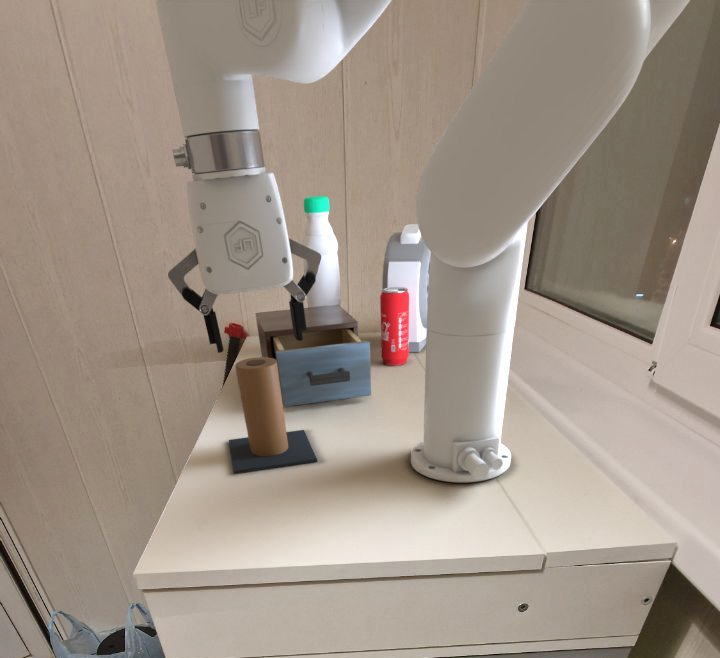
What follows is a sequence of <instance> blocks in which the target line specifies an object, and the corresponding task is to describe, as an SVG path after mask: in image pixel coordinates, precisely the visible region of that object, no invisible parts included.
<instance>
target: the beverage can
mask: <svg viewBox="0 0 720 658" xmlns="http://www.w3.org/2000/svg"><path fill="white" fill-rule="evenodd" d="M379 300H380V302H379V303H380V307H379V308H380V347H381V359H382V361H383V364H384V365H386V366H391V367H392V366H393V367H394V366H395V367H396V366H402V365H405V364H407V361H408V358H409V356H410V355H409V353H410V352H409V293H408V289H407V288H403V287H392V288H385V289H381V293H380V296H379Z"/></svg>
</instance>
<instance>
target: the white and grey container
mask: <svg viewBox="0 0 720 658" xmlns="http://www.w3.org/2000/svg"><path fill="white" fill-rule="evenodd" d="M430 255H431V251H430V250H429V249H428V247H427V246H426V244H425V242H424V241H423V238H422V236H421V233H420V231H419V227H418V223H408V224H406V225H405V226H404V227H403V229H402V231H401V232H400V231H399V232H394V233H392V234H391V235H390V237H389V239H388V241H387V245H386V248H385V252H384V257H383V258H384V260H383V267H382V282H381V283H382V286H381V288H382V289H385V288H392V287H403V288H407V289H408V293H409V353H420V352H421V351H422V350H423V349H424V348H425V347H426V332H427V304H428V284H429V269H430ZM382 289H381V290H382Z"/></svg>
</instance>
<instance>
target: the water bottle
mask: <svg viewBox="0 0 720 658" xmlns="http://www.w3.org/2000/svg"><path fill="white" fill-rule="evenodd" d="M330 209H331V207H330V199H329V197H328V196H325V195H314V196H306V197H304V199H303V210H304V214H305V216H306V219H307V223H306V226H305V229H304V235H303V236H302V240H301V244H302V245H304V246H306V247H308V248H310V249H312V250H315V251H317V252H319V253H320V254H321V256H322V260H321V263H320V266H319V270H318V273H317V276H316V281H315V283H314V285H313V286H312V288H311V289H310V291H309V292H308V294H307V295H306V302H307V308H309V307H319V306H329V305H340V306H341V307H342V305H341V304H342V303H341V302H342V291H341V273H340V263H339V261H340V260H339V256H338V251H339V242H338V240H337V237H336V235H335V233H334V230H333V227H332V226H331V223H330V222H329V215H330ZM306 266H307V262H306V260H305V259H303V274H304V273H305V270H306Z"/></svg>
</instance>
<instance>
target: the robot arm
mask: <svg viewBox="0 0 720 658" xmlns="http://www.w3.org/2000/svg"><path fill="white" fill-rule="evenodd" d="M392 1H393V0H155V4H156V10H157V17H158V20H159V25H160V30H161V35H162V39H163V44H164V49H165V54H166V58H167V63H168V68H169V72H170V77H171V81H172V87H173V91H174V96H175V100H176V104H177V109H178V114H179V119H180V123H181V129H182V131H183V132H182V133H183V137H184V142H185V143H182V146H179V148H174V149H171V150H172V154H173V160H174V164H175V167H183V168H184V169H185V168H187V169H188V170H191V171H190V172H191V176H192V180H191V181H186V194H187V205H188V213H189V220H190V226H191V231H192V237H193V243H194V248H193V249H191V251H190V252H188V253H187V254H186V255H185V256H184V257H183V258H182V259H180V261H178V262H177V263H176V264H174V266H172V267H171V268H170V269H169V270H168V271H167V278H168V279H169V281H170V282H171V283H172V285H173V286H174V287H175V289H176V290H177V292H178V293H179V294H180V296H181V297H182V299H183V300H184V301H186V302H187V303H188V304H189V305H191V306H192V307H193V308H194V309H196V310H197V311H198V312H199V313H200V314H201V315H203V320H204V323H205V329H206V332H207V337H208V341H209V345H216V349H217V353H218V354H219V353H223V352H224V345H223V340H222V336H221V332H220V328H219V323H218V318H217V313H216V311H214V308H213V306H214V304H215V302H216V300H217V298H218V296H219V295H222V296H223V295H230V294H231V295H232V294H233V295H234V294H240V293H247V292H254V291H255V292H256V291H263V290H269V289H276V288H281V287H283V288H284V289H285V290H286V291H287V292H288V293H289V294H290V299H289V300H290V301H288V305H289V310H290V312H291V319H292V326H293V333H294V337H295V338H296V340H298V341H303V335H302V331H306V320H305V313H304V308H305V306H304V305H305V304H304V302H305V300H306V299H307V296H306V295H307V294H308V292H309V291H310V289H311V288H312V286H313V285H314V283H315V281H316V276H317V273H318V270H319V266H320V263H321V260H322V256H321V254H320V253H319V252H317V251H315V250H312V249H310V248H308V247H306V246H304V245H302V243H300V242H298V241H296V240H294V239H291V238H290V237H289V234H288V228H287V223H286V218H285V212H284V207H283V203H282V198H281V195H280V191H279V186H278V184H277V183H278V182H277V179H276V177H275V174H274V172H268V173H267V171H266V167H265V166H266V164H265V158H264V150H263V144H262V137H261V131H260V125H259V117H258V111H257V102H256V96H255V89H254V81H253V76H261V77H268V78H272V79H277V80H282V81H290V82H293V83H297V84H303V85H305V84H307V85H308V84H312V83H315V82H317V81H319V80H321V79H323V78H324V77H326V76H327V75H329V73H330V72H332V71H333V70H334V69H335V68H336V67H337V65H339V63H340V62H341V61H343V59H344V58H345V57H346V56H347V55H348V54H349V53H350V51H351V50H352V49H353V48H354V47H355V46H356V44H358V42H359V41H360V40H361V39H362V37H363V36H365V35H366V34H367V32H368V31H369V30H370V29H371V28H372V26H373V25H374V24H375V23H376V21H377V20H378V19H379V18H380V17H381V15H382V14H383V13H384V12H385V10H386V9H387V8H388V6H389V5H390V3H391V2H392ZM690 1H691V0H528V1H527V2H526V3H525V4H524V6H523V8H522V9H521V11H520V12H519V14H518V15H517V16H516V18H515V20H514V21H513V23H512V24H511V26H510V28H509V29H508V31H507V32H506V34H505V35H504V37H503V39H502V40H501V42H500V43H499V45H498V47H497V48H496V50H495V51H494V53H493V54H492V56H491V57H490V59H489V61H488V62H487V64H486V65H485V67H484V69H483V70H482V72H481V73H480V75H479V76H478V78H477V79H476V81H475V83H474V84H473V86H472V87H471V89H470V91H469V92H468V94H467V95H466V97H465V99H464V100H463V102H462V103H461V104H460V106H459V107H458V109H457V111H456V113H455V114H454V115H453V117H452V119H451V121H450V122H449V123H448V125H447V126H446V128H445V130H444V131H443V133H442V134H441V136H440V137H439V139H438V141H437V142H436V144H435V145H434V147H433V149H432V150H431V152H430V153H429V156H428V157H427V159H426V161H425V163H424V166H423V168H422V171H421V174H420V177H419V180H418V184H417V188H416V196H415V215H416V224H418V227H419V231H420V233H421V236H422V238H423V241H424V242H425V244H426V246H427V247H428V249H429V250H430V251H431V255H430V269H429V284H428V304H427V332H426V345H425V364H424V365H425V367H424V369H425V371H424V372H425V374H424V405H423V408H424V409H423V441H421V442H420V443H418V444H417V445H416V446H415V447H413V448H412V450H411V452H410V464H411V466H412V468H413V469H414V470H415V471H416V472H417V473H419V474H420V475H421V476H424V477H427V478H429V479H432V480H437V481H442V482H448V483H477V482H482V481H487V480H490V479H494V478H496V477H498V476H500V475H502V474H503V473H505V472H507V470H508V469H509V468H510V466H511V462H512V461H511V459H512V453H511V451H510V450H509V448H508V447H507V446H506V445H504V444H503V443H501V438H502V430H503V422H504V415H505V414H504V413H505V405H506V398H507V390H508V381H509V372H510V365H511V355H512V348H513V341H514V340H513V339H514V333H515V332H514V331H515V325H516V318H517V309H518V301H519V295H520V293H519V292H520V287H521V286H520V284H521V277H522V268H523V261H524V253H525V247H526V240H527V239H526V238H527V232H528V231H527V230H528V224H529V222H530V220H531V219H532V218H533V217H534V216H535V215H536V213H537V212H538V210H539V209H540V208H541V207H542V206H543V205H544V203H545V202H546V201H547V200H548V198H549V197H550V196H551V195H552V193H553V192H554V191H555V190H556V189H557V187H558V186H559V185H560V184H561V183H562V181H563V180H564V179H565V177H566V176H567V175H568V174H569V172H571V170H572V169H573V168H574V166H575V165H576V164H577V162H578V161H579V160H580V159H581V158H582V156H583V155H584V154H585V152H587V150H588V149H589V148H590V146H591V145H592V144H593V143H594V141H595V140H596V139H597V137H598V136H599V135H600V134H601V132H603V130H604V129H605V127H607V125H608V124H609V123H610V121H611V120H612V119H613V117H614V116H615V115H616V114H617V112H618V111H619V110H620V108H621V106H622V105H623V104H624V102H625V100H626V99H627V98H628V96H629V94H630V93H631V91H632V89H633V88H634V85H635V84H636V82H637V80H638V78H639V75H640V73H641V71H642V67H643V65H644V63H645V60H646V58H647V57H648V56H649V55H650V53H651V52H652V51H653V49H654V48H655V47H656V46H657V44H658V43H659V42H660V40H661V39H662V38H663V37H664V35H665V34H666V33H667V31H668V30H669V29H670V27H672V25H673V24H674V23H675V21H676V20H677V19H678V17H679V16H680V15H681V14H682V13H683V11H684V10H685V8H686V7H687V5H688V4H689V3H690ZM292 255H294V256H296V257H298V258H300V259H302V260H304V259H305V260H306V262H307V266H306V270H305V273H304V272H303V274H302V276H301V277H300V279H299V281H298V283H296V282H295V281H294V279H293V278H294V265H293V258H292ZM197 266H198V269H199V272H200V276H201V279H202V283H203V286H204V287H205V289H204V290H203V293H202V296H201V295H200V294H199V293H197V292H196V291H195V290H193V289H192V288H191V287H190V285H189V284H188V283H187V281H186V279H185V277H186V275H188V274H189V273H190V272H191V271H192V270H194V269H195V268H196V267H197Z"/></svg>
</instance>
